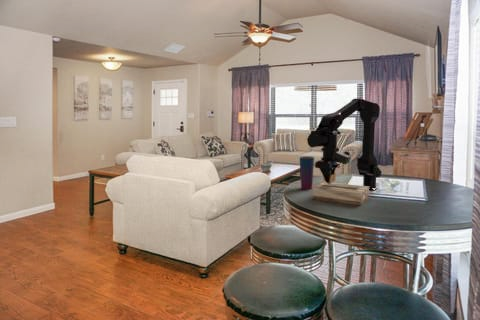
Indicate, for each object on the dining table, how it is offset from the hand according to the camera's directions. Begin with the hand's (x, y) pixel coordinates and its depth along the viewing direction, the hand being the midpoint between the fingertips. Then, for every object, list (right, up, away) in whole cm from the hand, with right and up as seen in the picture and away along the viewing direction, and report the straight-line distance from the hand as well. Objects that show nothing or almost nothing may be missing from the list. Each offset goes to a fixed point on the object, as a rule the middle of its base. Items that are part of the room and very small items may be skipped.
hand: (329, 181), depth 154 cm
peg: (0, -5, +1) cm, 5 cm away
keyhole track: (+4, -7, -2) cm, 9 cm away
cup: (-6, -5, +18) cm, 20 cm away
